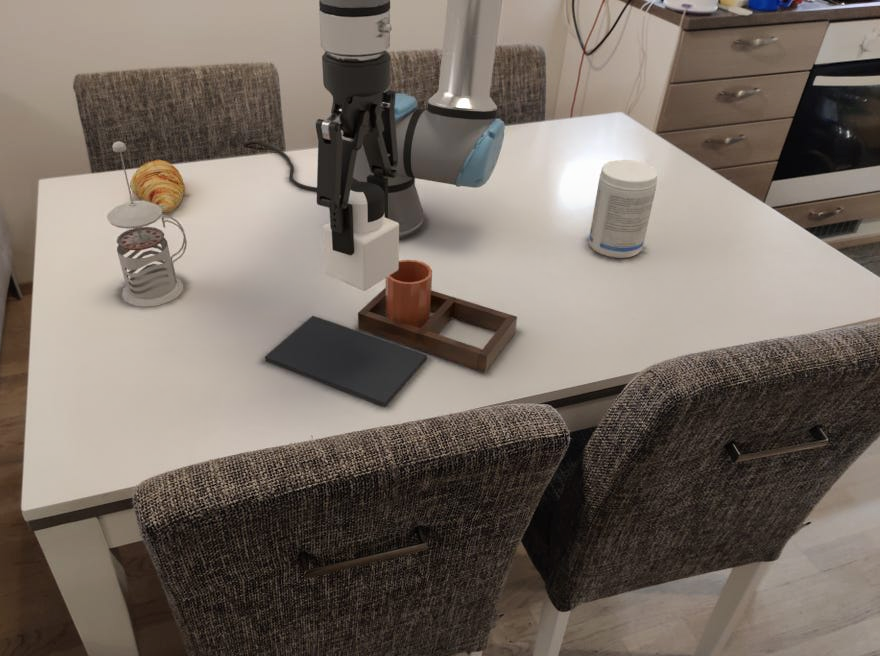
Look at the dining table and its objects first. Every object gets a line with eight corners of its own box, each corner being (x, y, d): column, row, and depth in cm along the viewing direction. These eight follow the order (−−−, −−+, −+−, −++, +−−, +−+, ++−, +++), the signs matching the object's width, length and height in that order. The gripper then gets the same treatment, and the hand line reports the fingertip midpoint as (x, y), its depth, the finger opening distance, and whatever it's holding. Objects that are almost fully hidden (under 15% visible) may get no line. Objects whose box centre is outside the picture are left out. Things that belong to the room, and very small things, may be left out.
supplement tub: (652, 251, 131) (672, 173, 122) (615, 265, 126) (633, 186, 117) (612, 229, 137) (628, 154, 128) (576, 242, 133) (589, 166, 124)
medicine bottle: (359, 253, 100) (357, 171, 93) (399, 270, 97) (400, 186, 90) (323, 274, 96) (318, 189, 89) (364, 292, 92) (362, 205, 85)
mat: (265, 360, 104) (264, 356, 104) (313, 319, 113) (312, 315, 112) (385, 407, 97) (384, 402, 96) (426, 359, 105) (427, 354, 104)
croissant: (188, 230, 142) (201, 193, 139) (137, 217, 136) (149, 178, 133) (165, 186, 157) (177, 152, 154) (118, 172, 151) (129, 136, 148)
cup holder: (358, 329, 111) (357, 312, 109) (394, 294, 118) (394, 278, 117) (485, 372, 103) (486, 356, 101) (515, 332, 110) (517, 316, 109)
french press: (119, 280, 121) (80, 133, 106) (190, 268, 124) (162, 124, 109) (123, 311, 114) (82, 159, 99) (198, 297, 117) (170, 148, 102)
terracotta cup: (377, 326, 111) (377, 275, 106) (399, 304, 116) (400, 255, 111) (416, 339, 109) (418, 288, 103) (437, 316, 114) (439, 267, 108)
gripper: (332, 82, 71) (342, 282, 85) (429, 34, 85) (424, 212, 99) (270, 70, 73) (289, 265, 88) (374, 26, 88) (376, 200, 102)
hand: (361, 237), depth 93 cm, fingers closed on medicine bottle, 8 cm apart
